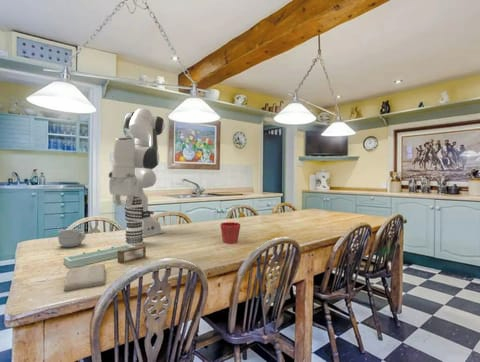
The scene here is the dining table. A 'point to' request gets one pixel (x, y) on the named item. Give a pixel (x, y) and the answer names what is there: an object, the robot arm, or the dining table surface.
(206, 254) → the dining table surface
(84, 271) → the washcloth
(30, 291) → the dining table surface
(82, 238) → the teacup
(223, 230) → the flower pot
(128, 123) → the robot arm
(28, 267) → the dining table surface
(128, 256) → the wooden block
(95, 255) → the ledge
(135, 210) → the decorative candle
